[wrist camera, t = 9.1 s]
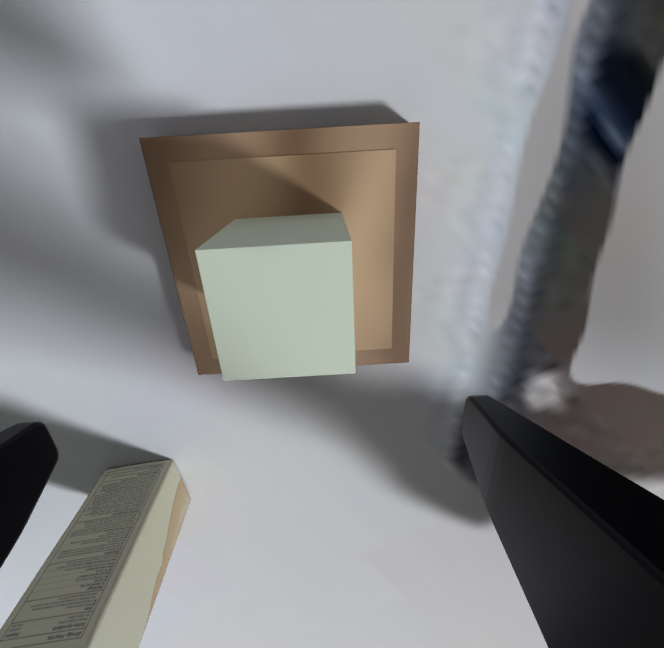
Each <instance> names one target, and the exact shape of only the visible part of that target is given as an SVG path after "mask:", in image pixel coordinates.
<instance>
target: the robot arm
mask: <svg viewBox="0 0 664 648" xmlns="http://www.w3.org/2000/svg"><path fill="white" fill-rule="evenodd" d="M462 434H463V438H464V441H465V444H466V447H467V450H468V454H469V457H470V460H471V463H472V466H473V469H474V472H475V475H476V478H477V481H478V485H479V488H480V491H481V494H482V497H483V500H484V502H485V505H486V508H487V510H488V513H489V515H490V517H491V520H492V522H493V524H494V526H495V529H496V531H497V533H498V535H499V538H500V540H501V542H502V544H503V547H504V549H505V551H506V553H507V556H508V558H509V560H510V562H511V565H512V567H513V569H514V571H515V574H516V576H517V578H518V580H519V583H520V585H521V587H522V589H523V591H524V594H525V596H526V598H527V600H528V603H529V605H530V607H531V609H532V612H533V614H534V616H535V618H536V621H537V623H538V625H539V627H540V630H541V632H542V634H543V636H544V639H545V641H546V643H547V645H548V648H664V500H663V499H661V498H660V497H658V496H656V495H654V494H653V493H651V492H649V491H648V490H646V489H644V488H643V487H641V486H639V485H638V484H636V483H634V482H633V481H631V480H629V479H628V478H626V477H624V476H623V475H621V474H619V473H617V472H616V471H614V470H612V469H611V468H609V467H607V466H606V465H604V464H602V463H601V462H599V461H597V460H596V459H594V458H592V457H591V456H589V455H587V454H586V453H584V452H582V451H581V450H579V449H577V448H575V447H574V446H572V445H570V444H569V443H567V442H565V441H564V440H562V439H560V438H559V437H557V436H555V435H554V434H552V433H550V432H549V431H547V430H545V429H544V428H542V427H540V426H538V425H537V424H535V423H533V422H532V421H530V420H528V419H527V418H525V417H523V416H522V415H520V414H518V413H517V412H515V411H513V410H512V409H510V408H508V407H507V406H505V405H503V404H501V403H500V402H498V401H496V400H495V399H493V398H491V397H490V396H487V395H475V396H469V397H467V399H466V401H465V407H464V415H463V422H462ZM58 456H59V453H58V449H57V447H56V445H55V443H54V441H53V439H52V437H51V435H50V433H49V431H48V429H47V427H46V426H45V425H44V424H43V423H41V422H24V423H18V424H16V425H14V426H12V427H9V428H7V429H5V430H3V431H1V432H0V568H1V566H2V565H3V563H4V562H5V560H6V558H7V557H8V555H9V553H10V552H11V550H12V548H13V547H14V545H15V543H16V542H17V540H18V538H19V536H20V535H21V533H22V531H23V529H24V527H25V525H26V523H27V522H28V520H29V518H30V516H31V514H32V512H33V510H34V508H35V506H36V504H37V502H38V500H39V498H40V496H41V494H42V492H43V490H44V488H45V486H46V484H47V482H48V480H49V478H50V476H51V474H52V472H53V470H54V468H55V466H56V463H57V461H58Z"/></svg>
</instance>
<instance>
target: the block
mask: <svg viewBox="0 0 664 648" xmlns="http://www.w3.org/2000/svg"><path fill="white" fill-rule="evenodd" d="M195 253H196V257H197V262H198V267H199V271H200V276H201V280H202V285H203V289H204V294H205V299H206V303H207V308H208V312H209V317H210V321H211V326H212V330H213V335H214V340H215V344H216V349H217V353H218V358H219V362H220V367H221V372H222V376H223V381H235V380H252V379H268V378H285V377H301V376H318V375H335V374H351V373H356V365H355V332H354V299H353V266H352V240H351V237H350V234H349V232H348V229H347V226H346V223H345V220H344V217H343V214H342V213H326V214H309V215H292V216H275V217H259V218H242V219H235V220H233V221H232V222H231V223H229V224H228V225H227V226H226V227H224V228H223V229H222V230H220V231H219V232H218V233H217V234H215V235H214V236H213V237H211V238H210V239H209V240H208V241H206V242H205V243H204V244H202V245H201V246H200V247H199V248H197V249H196V250H195Z"/></svg>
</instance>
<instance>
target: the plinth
mask: <svg viewBox="0 0 664 648" xmlns="http://www.w3.org/2000/svg"><path fill="white" fill-rule="evenodd" d="M419 125H420V122H412V123H394V124H377V125H360V126H342V127H325V128H308V129H290V130H273V131H256V132H238V133H221V134H204V135H186V136H169V137H152V138H139V139H140V143H141V147H142V151H143V155H144V159H145V163H146V167H147V171H148V175H149V179H150V183H151V187H152V191H153V195H154V199H155V203H156V207H157V211H158V215H159V219H160V223H161V227H162V231H163V235H164V239H165V243H166V247H167V251H168V255H169V259H170V263H171V267H172V271H173V275H174V279H175V283H176V287H177V291H178V295H179V299H180V303H181V307H182V311H183V315H184V319H185V323H186V327H187V331H188V335H189V339H190V343H191V347H192V351H193V355H194V359H195V363H196V367H197V371H198V375H201V374H218V373H222V372H221V367H220V362H219V358H218V353H217V349H216V344H215V340H214V335H213V330H212V326H211V321H210V317H209V312H208V308H207V303H206V299H205V294H204V289H203V285H202V280H201V276H200V271H199V267H198V262H197V257H196V253H195V250H196V249H197V248H199V247H200V246H201V245H202V244H204V243H205V242H206V241H208V240H209V239H210V238H211V237H213V236H214V235H215V234H217V233H218V232H219V231H220V230H222V229H223V228H224V227H226V226H227V225H228V224H229V223H231V222H232V221H233V220H235V219H242V218H259V217H275V216H292V215H309V214H326V213H342V214H343V217H344V220H345V223H346V226H347V229H348V232H349V234H350V237H351V240H352V266H353V299H354V332H355V365H370V364H387V363H404V362H409V345H410V323H411V301H412V279H413V257H414V235H415V213H416V191H417V169H418V147H419Z"/></svg>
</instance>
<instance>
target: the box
mask: <svg viewBox="0 0 664 648" xmlns="http://www.w3.org/2000/svg"><path fill="white" fill-rule="evenodd" d="M190 500H191V499H190V496H189V494H188V491H187V489H186V487H185V485H184V482H183V480H182V478H181V476H180V473H179V471H178V469H177V467H176V465H175V463H174V461H173V460H165V461H155V462H149V463H143V464H137V465H130V466H124V467H119V468H114V469H108V470H105V471H104V473H103V474H102V476H101V477H100V479H99V480H98V482H97V483H96V485H95V486H94V488H93V489H92V491H91V492H90V494H89V495H88V497H87V498H86V500H85V502H84V503H83V505H82V506H81V508H80V509H79V511H78V512H77V514H76V515H75V517H74V518H73V520H72V521H71V523H70V524H69V526H68V527H67V529H66V531H65V532H64V533H63V535H62V536H61V538H60V539H59V541H58V543H57V544H56V546H55V547H54V549H53V550H52V552H51V553H50V555H49V556H48V558H47V559H46V561H45V563H44V564H43V566H42V567H41V569H40V570H39V572H38V573H37V575H36V576H35V578H34V579H33V581H32V582H31V584H30V585H29V587H28V588H27V590H26V592H25V593H24V594H23V596H22V597H21V599H20V601H19V602H18V604H17V605H16V607H15V608H14V610H13V611H12V613H11V614H10V616H9V617H8V619H7V620H6V622H5V623H4V625H3V626H2V628H1V629H0V648H139V645H140V642H141V639H142V636H143V633H144V631H145V628H146V625H147V622H148V619H149V616H150V614H151V611H152V608H153V605H154V602H155V600H156V597H157V594H158V591H159V589H160V586H161V583H162V580H163V577H164V574H165V571H166V568H167V565H168V563H169V560H170V557H171V554H172V551H173V549H174V546H175V543H176V540H177V537H178V535H179V532H180V529H181V526H182V523H183V521H184V518H185V515H186V512H187V509H188V506H189V504H190Z"/></svg>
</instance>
